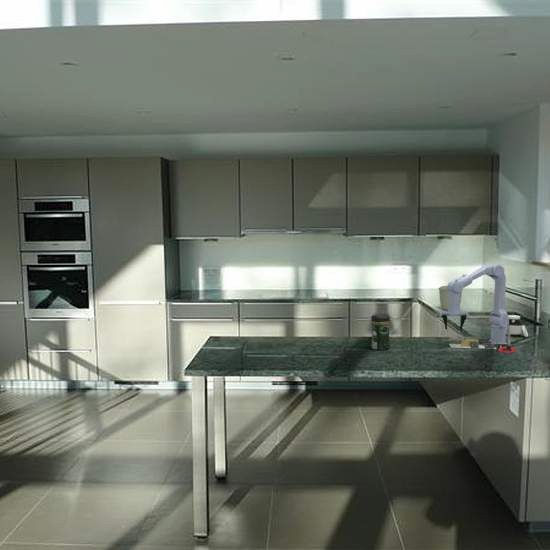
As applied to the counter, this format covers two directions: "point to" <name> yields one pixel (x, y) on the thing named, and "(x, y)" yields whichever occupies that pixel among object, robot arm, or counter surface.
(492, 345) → the chain end
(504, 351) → the tow hook
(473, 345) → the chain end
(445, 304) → the canister
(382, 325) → the coffee jar
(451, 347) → the mat
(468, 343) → the link
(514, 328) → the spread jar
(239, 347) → the counter surface
